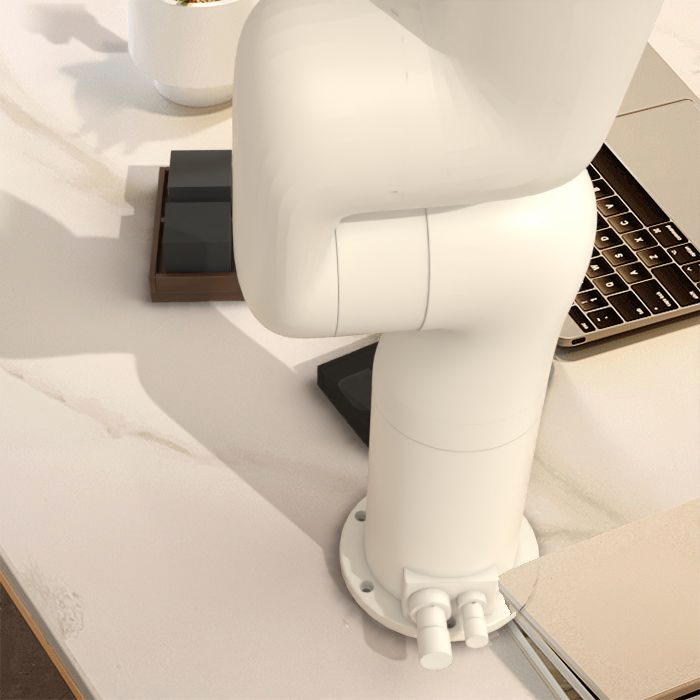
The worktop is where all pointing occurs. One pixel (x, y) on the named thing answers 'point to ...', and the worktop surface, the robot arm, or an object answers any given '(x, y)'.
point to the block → (197, 237)
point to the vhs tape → (351, 387)
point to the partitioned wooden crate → (182, 187)
